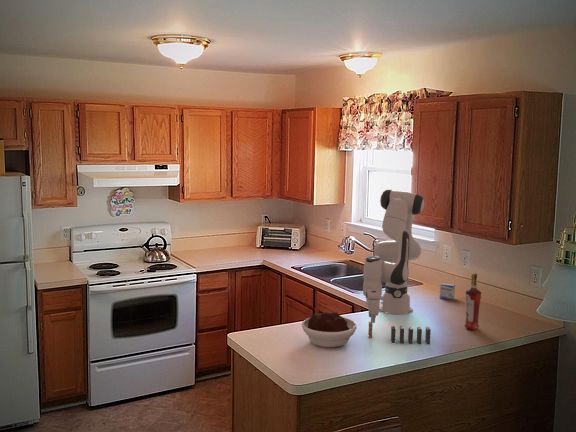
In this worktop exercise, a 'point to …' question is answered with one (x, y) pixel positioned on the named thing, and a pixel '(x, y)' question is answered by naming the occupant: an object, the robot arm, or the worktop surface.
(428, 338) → the domino
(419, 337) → the domino
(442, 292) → the medicine box
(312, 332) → the bowl of chocolate
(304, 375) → the worktop surface
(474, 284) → the liquor
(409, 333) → the domino
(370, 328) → the domino
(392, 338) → the domino
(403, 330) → the domino
